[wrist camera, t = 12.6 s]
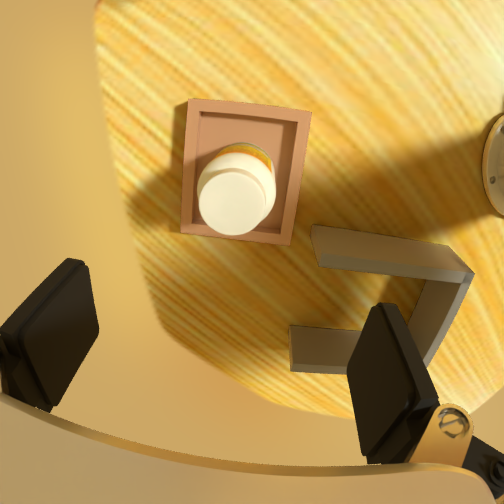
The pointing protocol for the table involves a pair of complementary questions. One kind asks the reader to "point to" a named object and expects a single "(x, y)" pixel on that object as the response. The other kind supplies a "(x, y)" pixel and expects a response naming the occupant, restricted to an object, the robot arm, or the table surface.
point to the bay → (389, 263)
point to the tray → (255, 132)
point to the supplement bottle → (237, 189)
